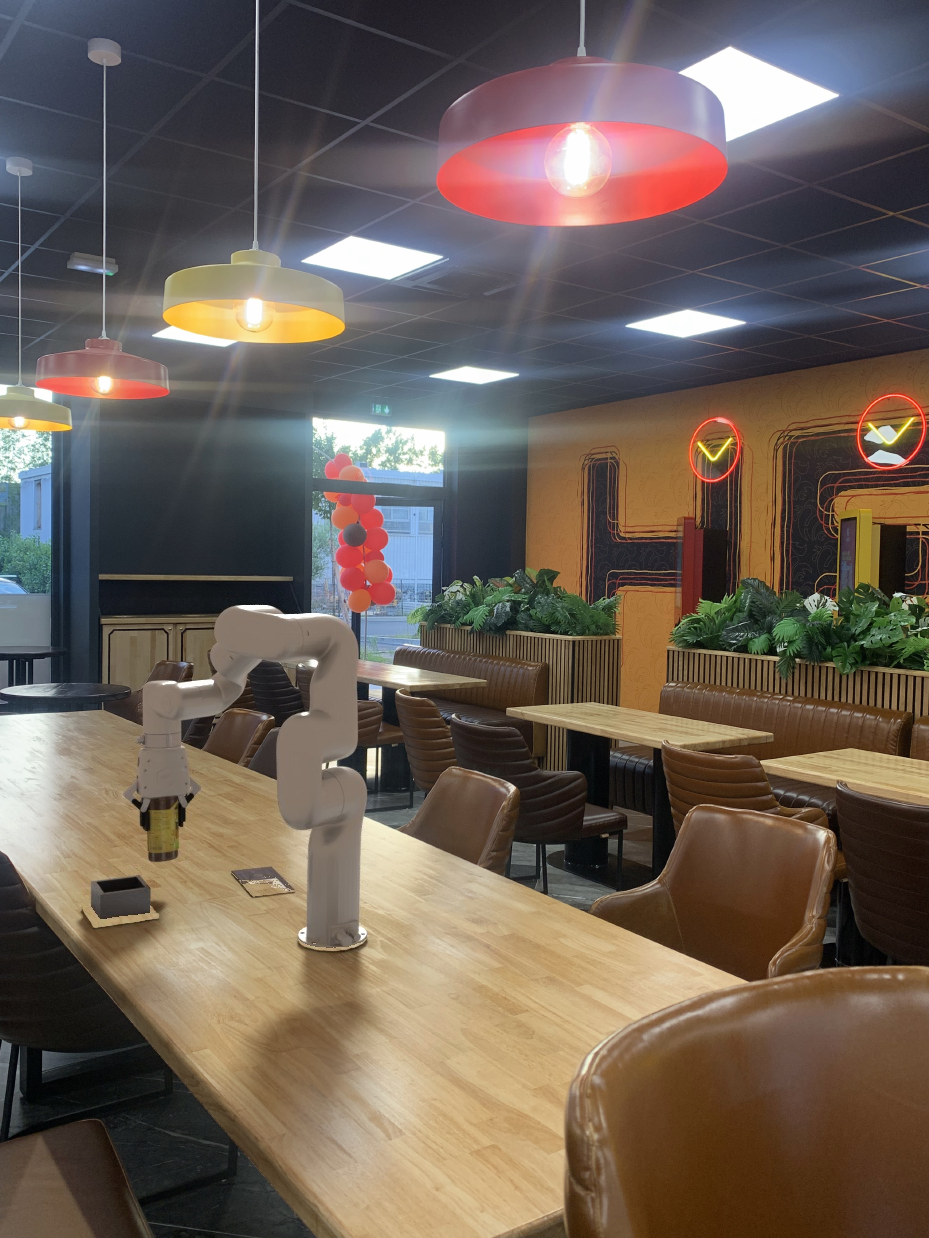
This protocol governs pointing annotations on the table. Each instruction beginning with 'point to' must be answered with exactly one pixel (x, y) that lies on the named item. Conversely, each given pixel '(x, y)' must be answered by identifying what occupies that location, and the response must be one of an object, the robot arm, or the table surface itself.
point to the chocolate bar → (262, 877)
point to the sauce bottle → (163, 829)
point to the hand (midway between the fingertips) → (162, 826)
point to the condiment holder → (120, 897)
